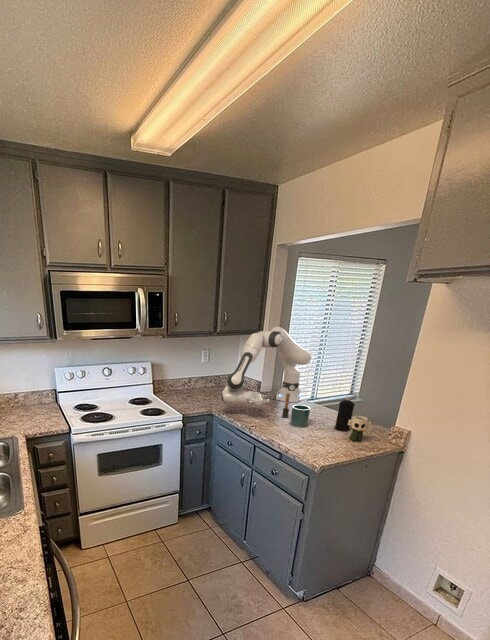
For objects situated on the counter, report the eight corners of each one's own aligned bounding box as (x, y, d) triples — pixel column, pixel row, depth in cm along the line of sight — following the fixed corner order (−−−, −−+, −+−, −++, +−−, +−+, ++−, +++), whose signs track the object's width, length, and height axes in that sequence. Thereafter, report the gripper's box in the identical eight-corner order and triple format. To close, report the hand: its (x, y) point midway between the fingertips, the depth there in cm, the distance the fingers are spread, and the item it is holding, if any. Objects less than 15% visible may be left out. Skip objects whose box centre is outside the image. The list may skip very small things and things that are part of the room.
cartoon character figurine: (345, 440, 197) (350, 418, 192) (344, 436, 203) (348, 414, 198) (367, 443, 193) (372, 420, 188) (365, 438, 199) (370, 416, 194)
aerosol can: (352, 430, 211) (359, 398, 204) (341, 432, 209) (347, 399, 202) (342, 426, 219) (348, 394, 211) (331, 427, 216) (337, 395, 209)
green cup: (288, 421, 227) (291, 404, 223) (305, 421, 225) (307, 405, 221) (291, 426, 217) (294, 409, 213) (309, 427, 216) (312, 410, 212)
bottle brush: (281, 416, 236) (284, 392, 230) (287, 416, 235) (290, 392, 230) (282, 417, 233) (285, 394, 227) (288, 418, 232) (291, 394, 226)
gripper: (248, 397, 222) (270, 398, 220) (245, 389, 241) (266, 390, 239) (247, 407, 224) (269, 408, 223) (244, 398, 243) (265, 399, 241)
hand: (268, 399), depth 231 cm, fingers open, 8 cm apart
